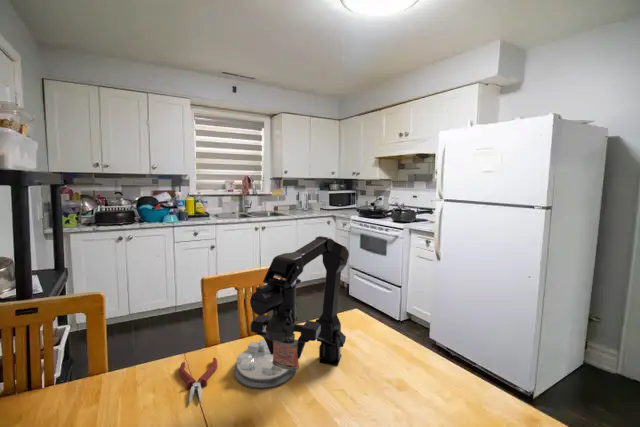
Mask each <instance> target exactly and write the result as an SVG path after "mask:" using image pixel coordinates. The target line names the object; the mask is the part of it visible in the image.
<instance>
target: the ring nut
mask: <svg viewBox="0 0 640 427" xmlns="http://www.w3.org/2000/svg"><path fill="white" fill-rule="evenodd" d="M236 363H237V371H238V373H239V375H240V376H241V377H243V378H244V379H246V380H249V381H253V382H270V381H274V380H277V379H280V378H282V377H284V376H285V375H287V374H288V373H289V372H290V371H291V370H286V369H282V368H280V367H277V366H275V365H273V354H272V355H271V353H270V351H269V348H268V346H267V343H266V341H265V339H264V338H261V339H260V340H259V341H258V342H256V341H250V343H249V344H248V345H247V349H244V351H242V352H240V353H239V355H238V356H237V357H236Z"/></svg>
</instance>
